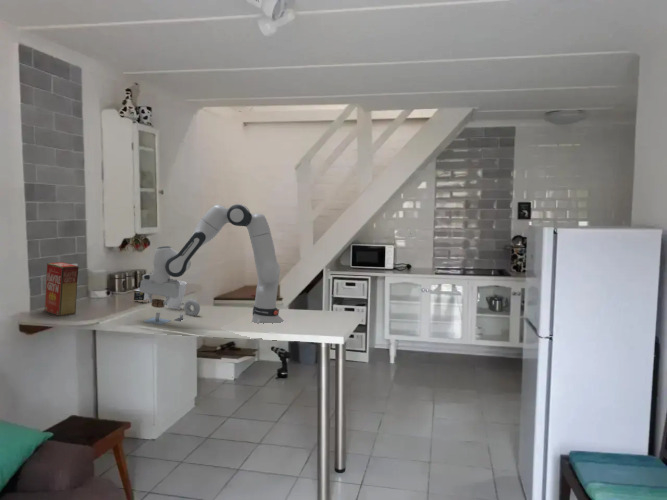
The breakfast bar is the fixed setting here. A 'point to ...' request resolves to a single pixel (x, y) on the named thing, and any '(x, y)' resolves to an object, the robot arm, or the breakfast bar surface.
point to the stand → (179, 318)
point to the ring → (157, 303)
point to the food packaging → (61, 288)
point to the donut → (195, 305)
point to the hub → (157, 320)
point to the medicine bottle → (140, 294)
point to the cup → (177, 302)
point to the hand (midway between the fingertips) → (158, 303)
